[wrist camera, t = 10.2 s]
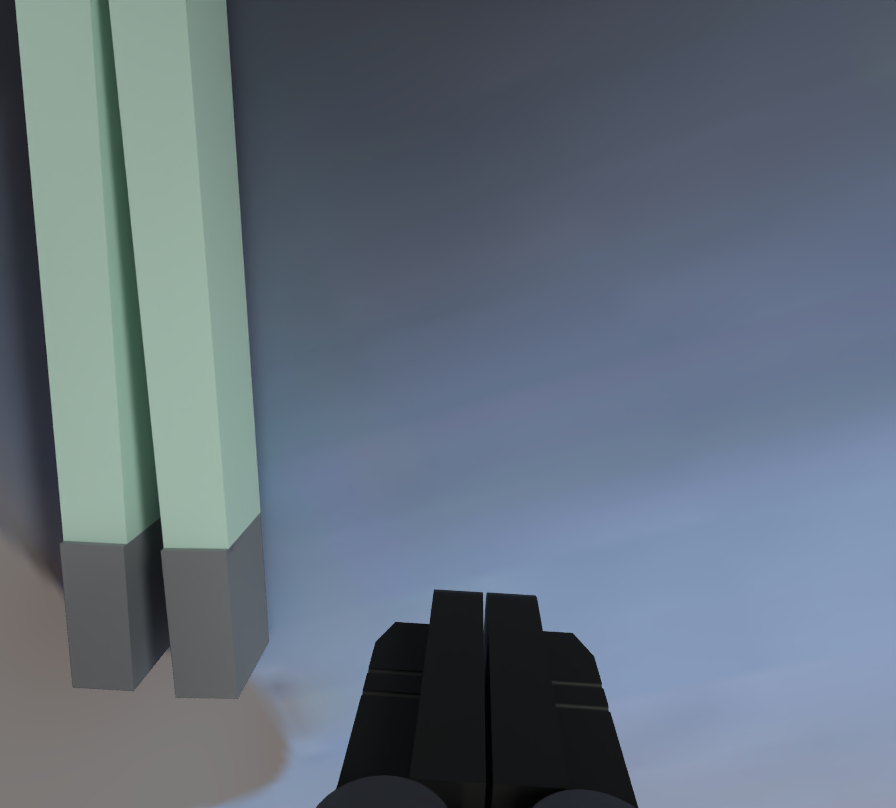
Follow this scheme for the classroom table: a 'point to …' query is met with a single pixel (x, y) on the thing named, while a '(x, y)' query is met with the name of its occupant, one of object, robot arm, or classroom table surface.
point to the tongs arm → (194, 333)
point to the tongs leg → (93, 345)
